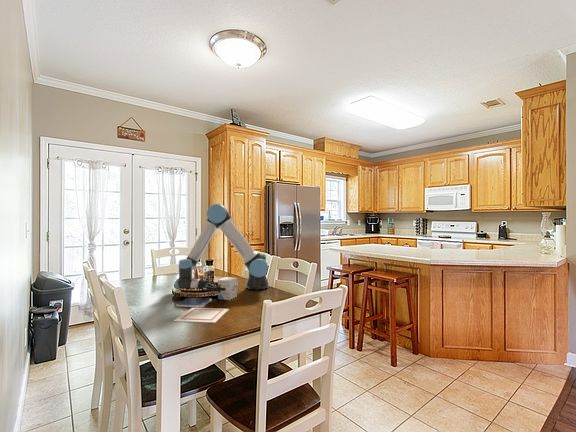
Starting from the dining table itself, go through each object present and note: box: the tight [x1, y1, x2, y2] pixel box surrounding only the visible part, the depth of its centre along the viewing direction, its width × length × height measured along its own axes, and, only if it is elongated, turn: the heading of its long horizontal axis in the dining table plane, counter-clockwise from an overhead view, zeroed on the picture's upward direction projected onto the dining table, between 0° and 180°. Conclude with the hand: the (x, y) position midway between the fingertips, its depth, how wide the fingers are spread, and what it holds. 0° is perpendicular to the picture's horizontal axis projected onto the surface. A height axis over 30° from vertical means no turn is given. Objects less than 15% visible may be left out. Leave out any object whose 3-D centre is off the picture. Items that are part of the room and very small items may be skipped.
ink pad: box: [175, 296, 213, 308], centre depth 170 cm, size 15×14×2 cm
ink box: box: [217, 276, 238, 301], centre depth 182 cm, size 9×8×12 cm
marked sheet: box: [173, 307, 230, 324], centre depth 150 cm, size 20×20×1 cm
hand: (234, 287), depth 181 cm, fingers open, 9 cm apart
